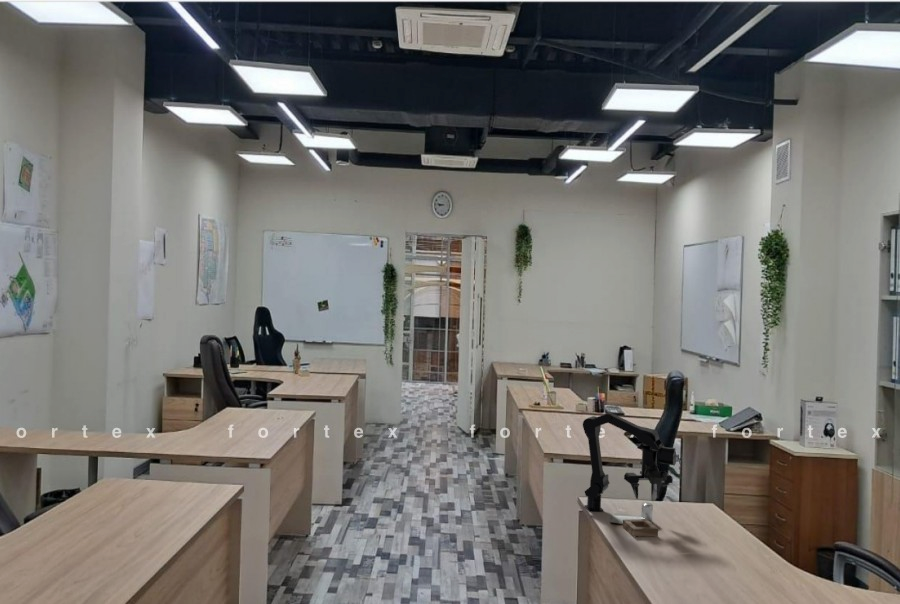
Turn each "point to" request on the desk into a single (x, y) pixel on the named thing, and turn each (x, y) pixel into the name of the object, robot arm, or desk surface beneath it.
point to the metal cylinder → (647, 511)
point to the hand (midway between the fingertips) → (647, 498)
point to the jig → (640, 527)
